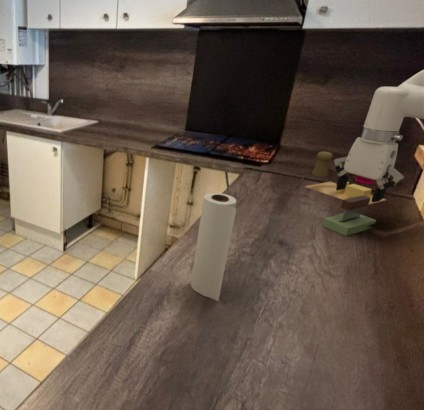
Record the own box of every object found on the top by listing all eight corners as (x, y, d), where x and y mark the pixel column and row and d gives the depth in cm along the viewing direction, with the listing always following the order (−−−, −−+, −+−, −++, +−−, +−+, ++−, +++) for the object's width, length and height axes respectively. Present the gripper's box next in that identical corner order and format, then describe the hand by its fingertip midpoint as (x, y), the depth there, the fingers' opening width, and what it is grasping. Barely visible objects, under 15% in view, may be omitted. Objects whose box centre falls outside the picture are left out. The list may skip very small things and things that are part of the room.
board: (385, 203, 122) (387, 199, 122) (360, 210, 117) (361, 206, 116) (328, 185, 139) (329, 181, 138) (304, 190, 134) (305, 186, 133)
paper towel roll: (191, 277, 82) (205, 190, 73) (219, 283, 80) (236, 194, 71) (188, 295, 76) (202, 202, 67) (218, 302, 74) (236, 207, 65)
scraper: (360, 225, 107) (370, 197, 103) (341, 231, 103) (351, 202, 100) (353, 222, 109) (362, 195, 105) (334, 227, 105) (343, 199, 102)
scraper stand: (373, 227, 105) (376, 220, 104) (345, 236, 101) (348, 228, 100) (349, 218, 111) (351, 211, 110) (321, 225, 106) (324, 218, 106)
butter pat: (346, 191, 128) (349, 182, 127) (339, 193, 127) (342, 183, 126) (342, 190, 130) (345, 181, 128) (335, 191, 128) (338, 182, 127)
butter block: (368, 198, 122) (372, 189, 121) (361, 200, 121) (364, 191, 119) (350, 192, 127) (353, 183, 126) (343, 194, 126) (346, 185, 124)
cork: (323, 181, 142) (331, 154, 138) (307, 177, 147) (314, 151, 142) (329, 178, 146) (337, 152, 142) (313, 174, 150) (320, 149, 146)
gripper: (424, 141, 89) (399, 204, 96) (353, 128, 104) (335, 183, 111) (407, 144, 86) (382, 208, 93) (336, 130, 101) (319, 186, 108)
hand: (357, 195), depth 102 cm, fingers open, 9 cm apart
